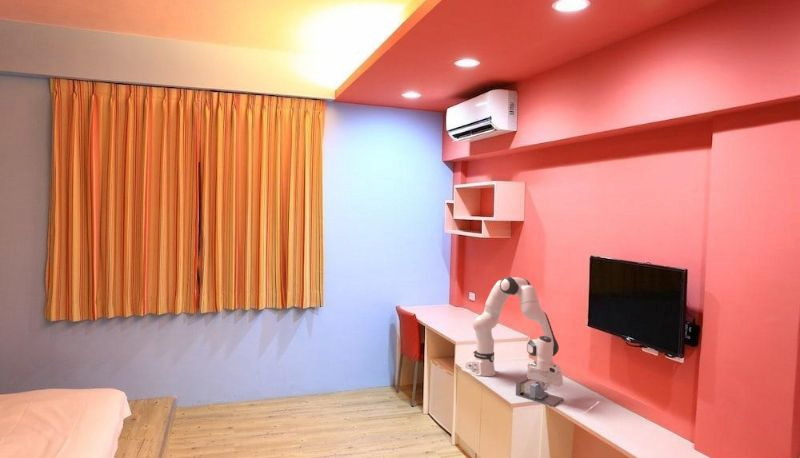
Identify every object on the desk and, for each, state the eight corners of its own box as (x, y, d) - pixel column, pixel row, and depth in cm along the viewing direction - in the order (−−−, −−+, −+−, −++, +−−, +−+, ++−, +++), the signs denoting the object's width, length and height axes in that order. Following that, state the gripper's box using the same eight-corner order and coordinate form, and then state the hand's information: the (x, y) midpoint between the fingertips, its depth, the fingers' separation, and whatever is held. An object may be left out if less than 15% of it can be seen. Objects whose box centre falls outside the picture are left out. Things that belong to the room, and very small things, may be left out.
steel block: (522, 393, 284) (523, 383, 284) (529, 390, 291) (529, 380, 290) (530, 396, 281) (531, 385, 281) (537, 392, 287) (537, 382, 287)
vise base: (515, 395, 285) (516, 381, 284) (526, 389, 294) (526, 376, 294) (553, 406, 270) (554, 391, 269) (563, 400, 279) (563, 385, 279)
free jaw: (528, 397, 279) (529, 384, 279) (538, 391, 289) (539, 379, 289) (539, 400, 275) (540, 387, 275) (549, 394, 285) (549, 382, 284)
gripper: (525, 363, 284) (524, 386, 284) (559, 370, 271) (559, 395, 271) (530, 360, 289) (529, 384, 289) (564, 368, 275) (563, 392, 276)
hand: (544, 389), depth 280 cm, fingers closed
